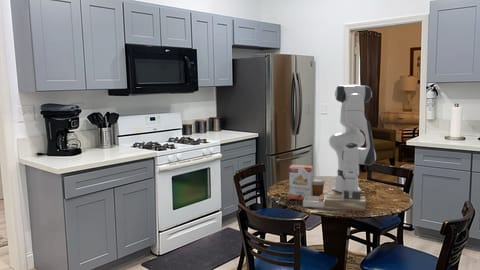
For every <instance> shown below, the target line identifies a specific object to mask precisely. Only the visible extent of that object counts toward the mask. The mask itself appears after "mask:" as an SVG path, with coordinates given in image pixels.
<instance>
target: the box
mask: <svg viewBox="0 0 480 270" xmlns="http://www.w3.org/2000/svg"><path fill="white" fill-rule="evenodd" d="M319 197H320V196H307V195H305V198H304V200H302V207H304V208H317V209H326V208H325V198H326V195H324V200H323V202H320V201H319Z"/></svg>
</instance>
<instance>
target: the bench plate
mask: <svg viewBox="0 0 480 270" xmlns="http://www.w3.org/2000/svg"><path fill="white" fill-rule="evenodd" d="M325 197H326V198H325V208H324V209H331V210H332V209H333V210H348V211H364V212H365V211H366V196H365V195H360V199H345V198H344V201H342V194H333V193H332V194H331V193H328V194H327V193H326V195H325Z"/></svg>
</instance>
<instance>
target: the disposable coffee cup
mask: <svg viewBox="0 0 480 270" xmlns="http://www.w3.org/2000/svg"><path fill="white" fill-rule="evenodd" d="M312 185H313V196H320V195H321V194H324V186H325V179H324V178H320V177H319V178H316V177H315V178H314V181H313V182H312Z"/></svg>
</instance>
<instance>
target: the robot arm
mask: <svg viewBox="0 0 480 270" xmlns="http://www.w3.org/2000/svg"><path fill="white" fill-rule="evenodd" d="M334 98H335V100H336V101H337V102H339V103H341V107H340V118H339V119H340V120H339V122H340V125H342V126H343V127H344V128H345V132H338V133H334V134H332V135H331V136H330V137H329V139H328V143H329V144H328V145H329V147H330V148H331V149H332V150H334V151H335V153H336V155H337V171H336V172H337V173H336V174H337V176H336V177H334V186H333V187H332V188H331V190H332V191H336V192H339V193H342V190H344V191H348V192H349V198H352V193H353V192H354V191H360V192H362V189H361V188H360V187H359V178H358V177H359V175H360V165H365V166H372V165H373V164H375V163H376V160H377V154H376V150H375V145H374V140H373V133H372V127H371V123H370V121H369V120H368V119H367V118H366V116H365V104H366V103H369V102H370V101H371V99H372V98H373V92H372V87H370V86H368V85H361V84H346V85H344V84H342V85H337V87H336V88H335V92H334ZM362 132H363V133H364V134H363V133H362ZM364 144H366V147H362V146H364Z"/></svg>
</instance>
